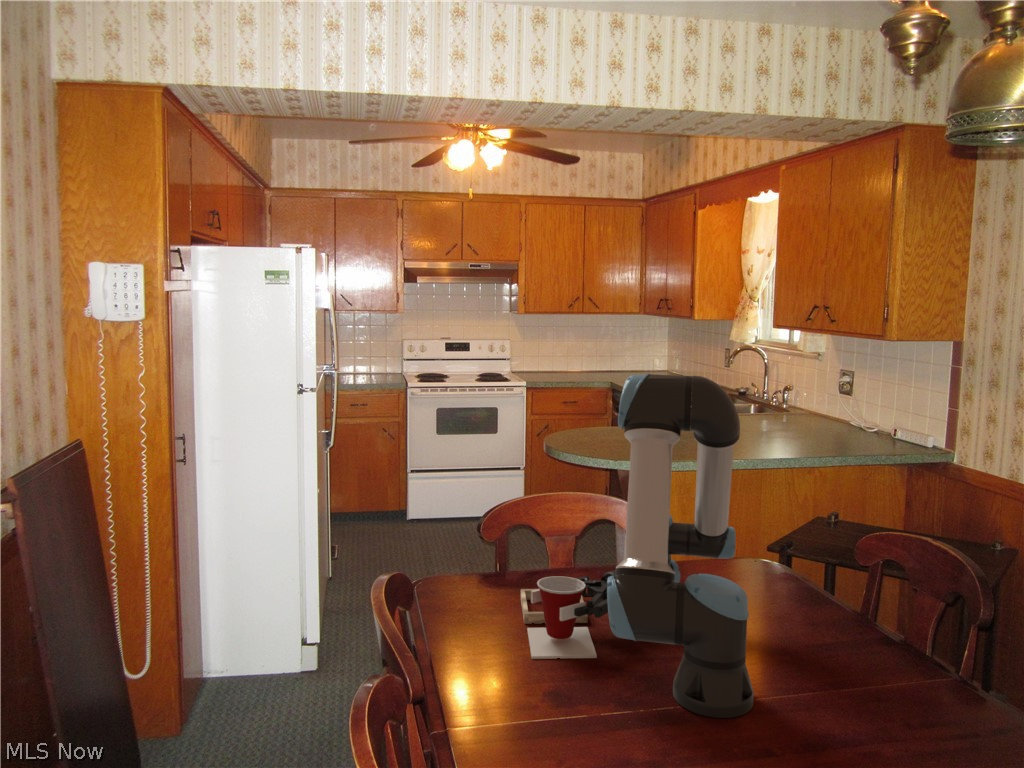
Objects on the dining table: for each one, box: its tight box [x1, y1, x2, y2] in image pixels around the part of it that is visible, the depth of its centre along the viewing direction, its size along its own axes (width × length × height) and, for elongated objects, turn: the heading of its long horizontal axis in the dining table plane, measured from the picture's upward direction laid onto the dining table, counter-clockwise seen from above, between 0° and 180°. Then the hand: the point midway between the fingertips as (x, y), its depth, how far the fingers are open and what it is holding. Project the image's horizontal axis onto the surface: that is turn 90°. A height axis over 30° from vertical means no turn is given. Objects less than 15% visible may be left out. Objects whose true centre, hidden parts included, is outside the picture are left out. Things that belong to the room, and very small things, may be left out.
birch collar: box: [520, 588, 589, 625], centre depth 192 cm, size 15×15×2 cm
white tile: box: [526, 626, 598, 660], centre depth 174 cm, size 14×14×1 cm
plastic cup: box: [536, 575, 586, 639], centre depth 174 cm, size 11×11×12 cm
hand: (545, 605), depth 171 cm, fingers open, 10 cm apart
